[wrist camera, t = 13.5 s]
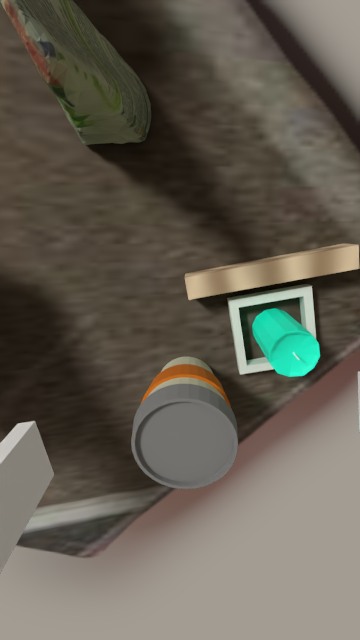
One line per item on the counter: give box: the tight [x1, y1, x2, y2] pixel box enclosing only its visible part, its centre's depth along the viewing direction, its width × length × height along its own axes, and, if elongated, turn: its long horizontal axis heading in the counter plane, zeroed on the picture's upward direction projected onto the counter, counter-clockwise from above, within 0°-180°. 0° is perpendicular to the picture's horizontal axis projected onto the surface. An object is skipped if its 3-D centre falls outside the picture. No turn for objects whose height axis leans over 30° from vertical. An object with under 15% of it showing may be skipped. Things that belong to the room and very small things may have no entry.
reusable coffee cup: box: [131, 357, 238, 489], centre depth 42 cm, size 13×13×15 cm
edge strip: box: [185, 244, 359, 300], centre depth 42 cm, size 22×3×4 cm, turn 101°
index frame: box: [227, 284, 316, 374], centre depth 45 cm, size 11×11×2 cm
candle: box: [252, 308, 320, 377], centre depth 40 cm, size 6×6×12 cm
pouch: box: [0, 0, 151, 145], centre depth 27 cm, size 11×12×25 cm
